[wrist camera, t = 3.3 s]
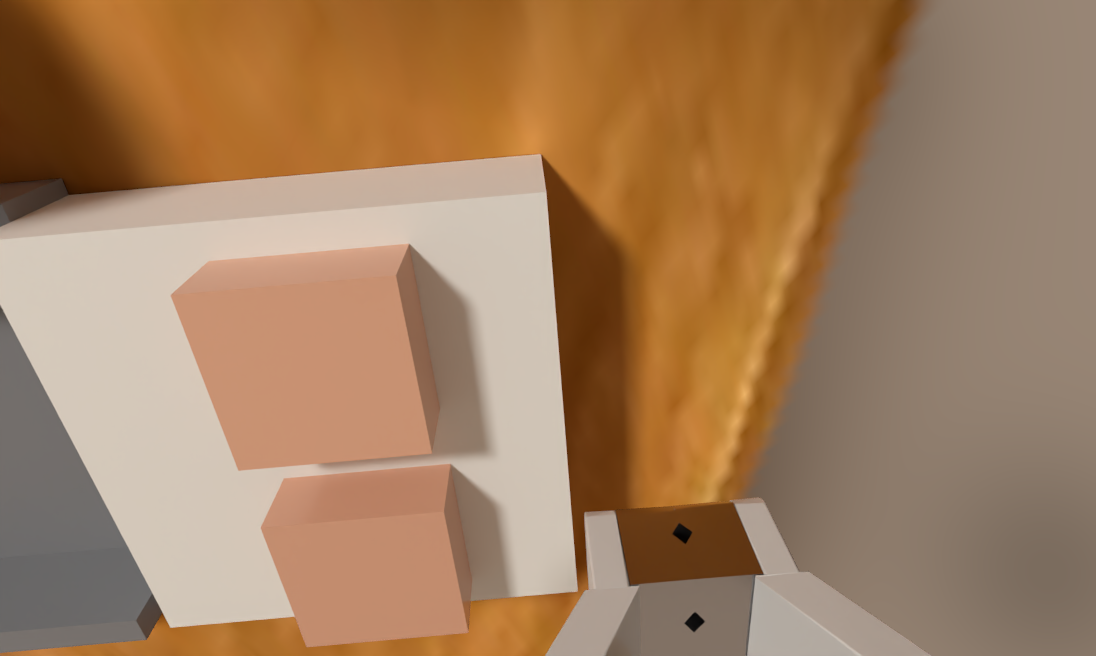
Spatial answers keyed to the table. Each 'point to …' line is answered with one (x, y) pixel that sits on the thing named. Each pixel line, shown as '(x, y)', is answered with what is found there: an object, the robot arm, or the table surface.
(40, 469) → the box
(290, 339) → the tile
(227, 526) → the raised plate
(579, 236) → the table surface
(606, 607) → the robot arm
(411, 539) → the tile
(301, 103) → the table surface
